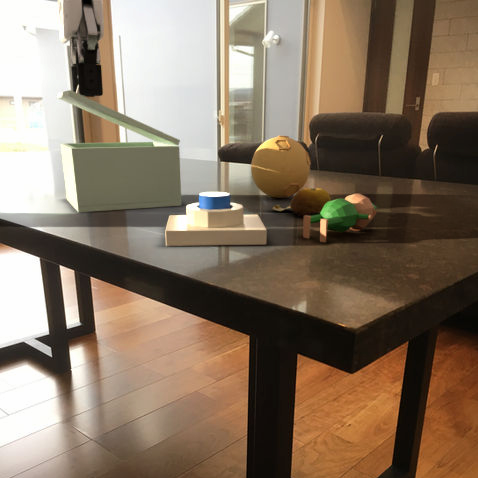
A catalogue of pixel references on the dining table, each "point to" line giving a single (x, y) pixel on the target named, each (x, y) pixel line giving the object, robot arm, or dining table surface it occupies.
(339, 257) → the dining table surface
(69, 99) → the lid
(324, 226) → the figurine
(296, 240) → the dining table surface
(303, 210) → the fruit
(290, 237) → the dining table surface
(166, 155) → the compartment
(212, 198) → the button
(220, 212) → the control block
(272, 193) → the stress ball
